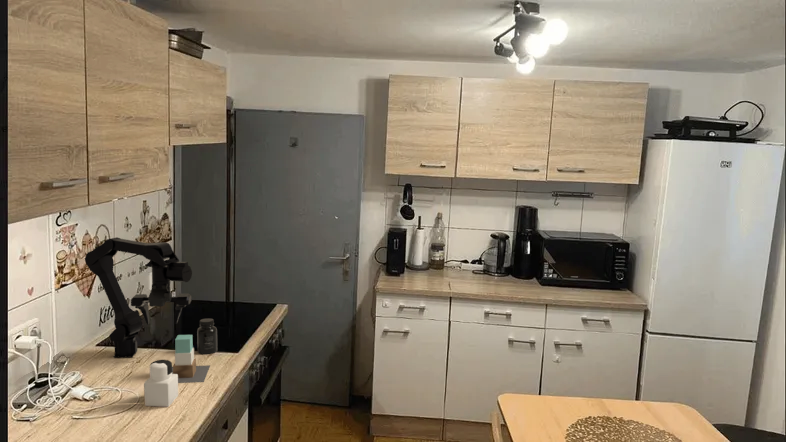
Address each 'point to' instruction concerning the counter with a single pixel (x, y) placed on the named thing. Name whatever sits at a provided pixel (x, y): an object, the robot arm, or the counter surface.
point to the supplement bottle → (207, 337)
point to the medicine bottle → (161, 384)
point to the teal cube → (183, 344)
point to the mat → (196, 375)
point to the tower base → (185, 370)
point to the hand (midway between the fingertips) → (162, 323)
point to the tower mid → (184, 358)
